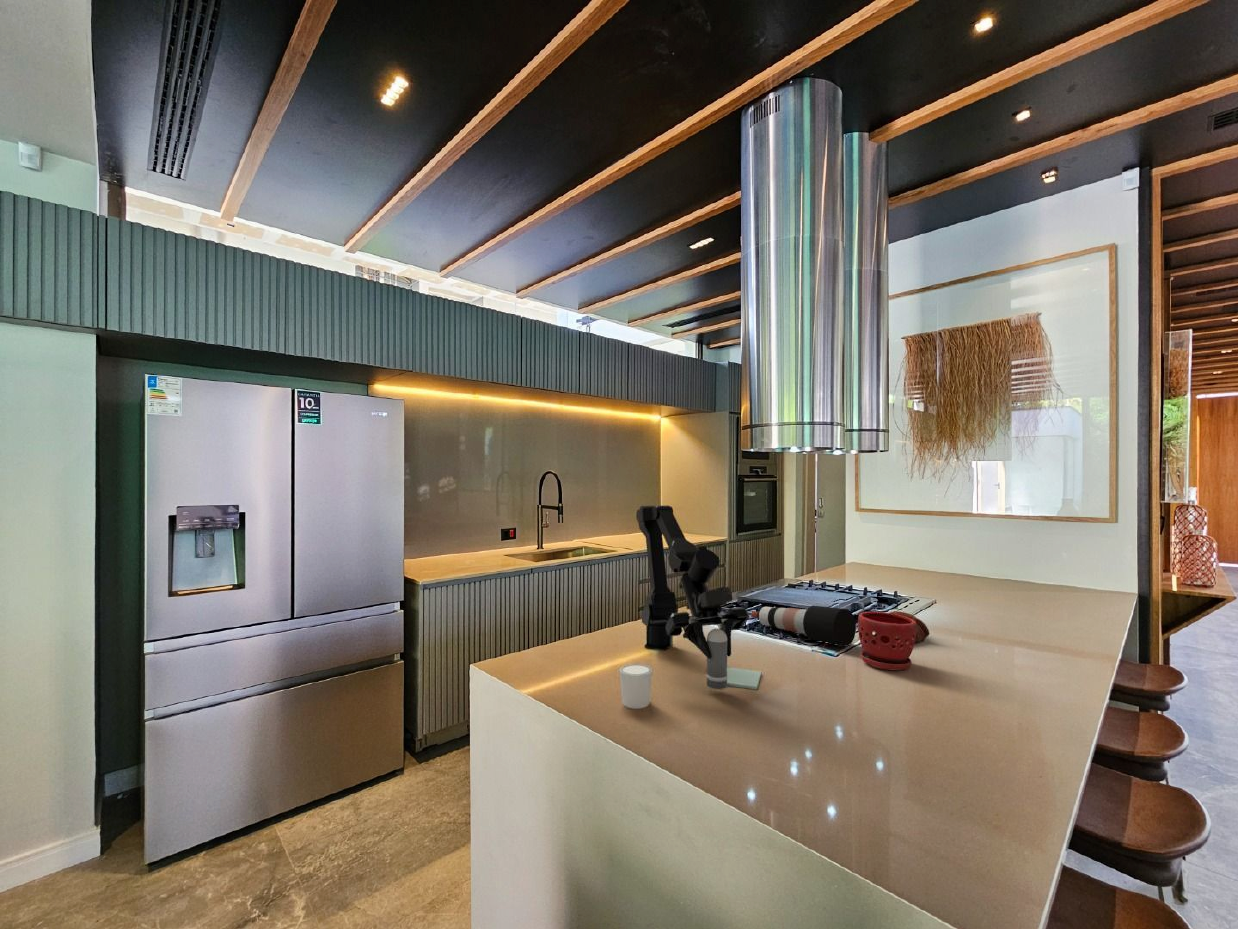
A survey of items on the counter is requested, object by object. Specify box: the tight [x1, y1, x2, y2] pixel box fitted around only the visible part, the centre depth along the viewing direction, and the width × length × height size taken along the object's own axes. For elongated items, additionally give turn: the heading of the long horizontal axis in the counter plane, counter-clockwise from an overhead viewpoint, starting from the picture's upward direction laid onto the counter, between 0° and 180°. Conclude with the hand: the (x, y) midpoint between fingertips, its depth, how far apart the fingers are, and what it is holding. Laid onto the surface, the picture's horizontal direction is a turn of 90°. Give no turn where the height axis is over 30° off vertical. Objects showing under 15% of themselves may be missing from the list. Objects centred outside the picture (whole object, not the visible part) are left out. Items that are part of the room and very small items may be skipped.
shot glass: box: [619, 663, 653, 710], centre depth 114 cm, size 7×7×7 cm
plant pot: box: [857, 611, 916, 671], centre depth 137 cm, size 13×13×12 cm
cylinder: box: [705, 628, 728, 690], centre depth 119 cm, size 5×5×12 cm
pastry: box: [889, 610, 930, 645], centre depth 160 cm, size 17×15×8 cm
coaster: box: [727, 666, 762, 690], centre depth 127 cm, size 10×10×1 cm
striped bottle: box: [750, 605, 857, 647], centre depth 163 cm, size 10×34×10 cm, turn 34°
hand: (720, 656), depth 118 cm, fingers closed on cylinder, 4 cm apart
